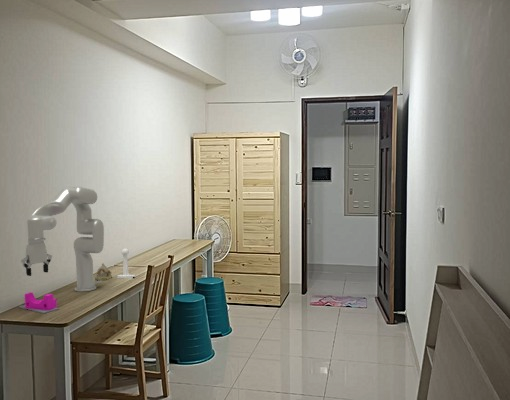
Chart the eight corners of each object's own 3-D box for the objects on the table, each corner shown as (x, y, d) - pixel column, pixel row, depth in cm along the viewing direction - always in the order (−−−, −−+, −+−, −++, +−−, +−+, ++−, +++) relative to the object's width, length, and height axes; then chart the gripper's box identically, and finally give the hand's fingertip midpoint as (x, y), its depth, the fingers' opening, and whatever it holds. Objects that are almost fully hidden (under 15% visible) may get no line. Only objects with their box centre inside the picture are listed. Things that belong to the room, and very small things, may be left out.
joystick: (116, 279, 356) (115, 248, 354) (120, 277, 363) (119, 247, 362) (133, 279, 355) (132, 248, 353) (136, 277, 362) (136, 247, 361)
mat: (34, 303, 297) (34, 302, 297) (59, 309, 284) (59, 308, 284) (18, 307, 289) (18, 306, 289) (43, 313, 277) (43, 312, 277)
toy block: (56, 307, 286) (56, 293, 286) (48, 310, 280) (47, 296, 280) (33, 305, 291) (33, 291, 291) (25, 308, 286) (24, 294, 285)
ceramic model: (96, 276, 366) (96, 262, 365) (113, 276, 367) (113, 261, 366) (92, 281, 352) (92, 265, 351) (110, 280, 353) (109, 265, 352)
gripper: (46, 238, 294) (47, 270, 295) (16, 243, 280) (18, 276, 281) (54, 239, 289) (56, 271, 291) (24, 244, 275) (26, 277, 277)
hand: (37, 273), depth 286 cm, fingers open, 9 cm apart
